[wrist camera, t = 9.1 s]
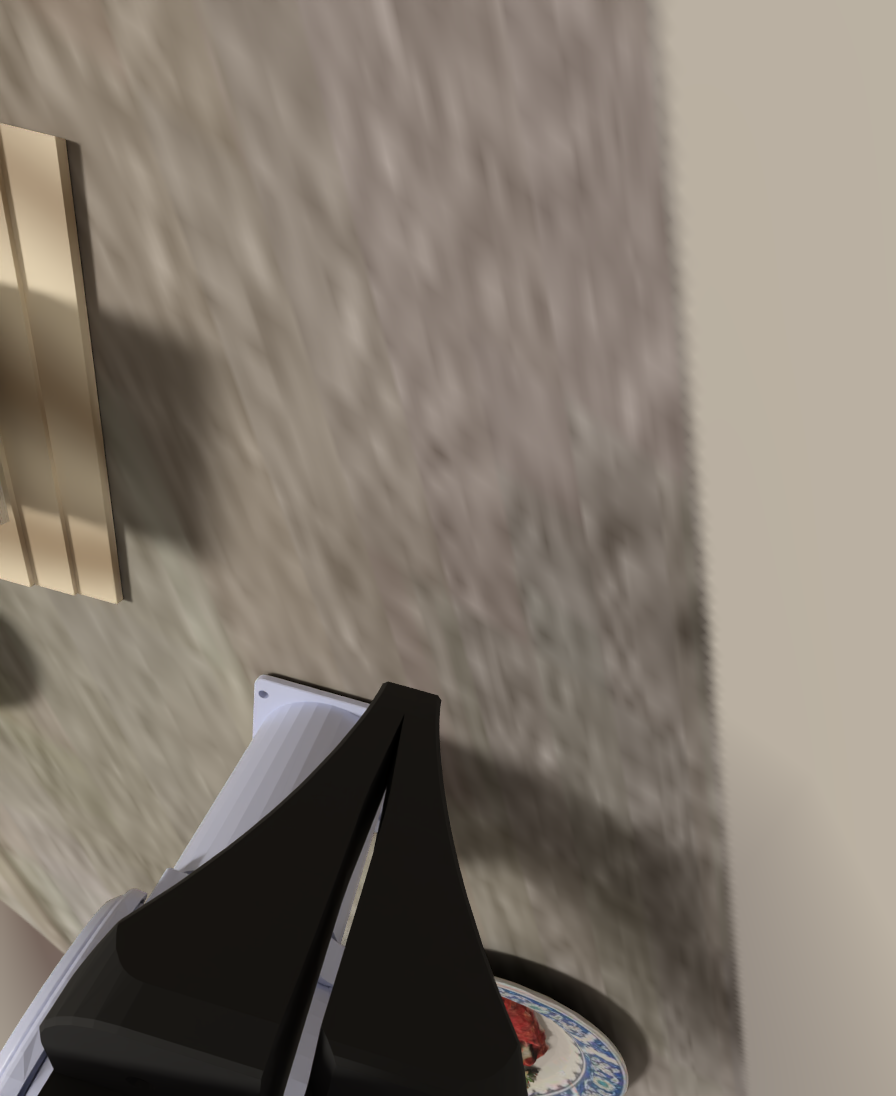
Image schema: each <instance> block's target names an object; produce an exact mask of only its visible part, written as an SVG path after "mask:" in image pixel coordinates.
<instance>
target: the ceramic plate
mask: <svg viewBox="0 0 896 1096" xmlns="http://www.w3.org/2000/svg"><path fill="white" fill-rule="evenodd" d="M494 978H495V981H496V984H497V986H498V989H499V992H500V994H501V997H502V999H503V1002H504V1004H505V1007H506V1010H507V1012H508V1014H509V1017H510V1019H511V1022H512V1024H513V1027H514V1029H515V1031H516V1034H517V1036H518V1039H519V1042H520V1046H521V1052H522V1058H523V1064H524V1070H525V1076H526V1084H527V1091H528V1096H624V1095H625V1093H626V1091H627V1088H628V1072H627V1068H626V1064H625V1062H624V1060H623V1058H622V1055H621V1054H620V1052H619V1051H618V1049H617V1048H616V1046H615V1045H614V1044H613V1043H612V1042H611V1041H610V1039H609V1038H608V1037H607V1036H606V1035H605V1034H604V1033H602V1032H601V1031H600V1030H599V1029H598V1028H597V1027H595V1026H594V1025H593V1024H591V1023H590V1022H589V1021H588V1020H586V1019H585V1018H584V1017H582V1016H581V1015H580V1014H578V1013H576V1012H575V1011H573V1010H571V1009H569V1008H568V1007H566V1006H564V1005H562V1004H560V1003H559V1002H557V1001H555V1000H553V999H552V998H550V997H548V996H546V995H543V994H541V993H539V992H536V991H534V990H531V989H529V988H527V987H524V986H522V985H520V984H517V983H515V982H512V981H508V980H505V979H502V978H499V977H496V976H494Z"/></svg>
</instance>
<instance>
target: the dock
mask: <svg viewBox="0 0 896 1096" xmlns="http://www.w3.org/2000/svg"><path fill="white" fill-rule="evenodd" d="M0 481H1V485H2V490H3V494H4V498H5V502H6V506H7V511H8V515H9V519H10V521H9V522H7V523H4V524H2V525H0V579H4V580H7V581H11V582H14V583H18V584H21V585H25V586H28V587H31V586H33V585H39V586H42V587H46V588H50V589H53V590H57V591H60V592H64V593H67V594H71V595H76V594H77V593H79V594H82V595H86V596H90V597H93V598H97V599H100V600H104V601H107V602H111V603H115V604H118V603H119V602H121V601H122V600H123V595H122V587H121V579H120V571H119V563H118V555H117V547H116V539H115V531H114V523H113V515H112V507H111V499H110V491H109V483H108V475H107V467H106V459H105V451H104V443H103V435H102V427H101V419H100V411H99V403H98V395H97V387H96V379H95V371H94V363H93V356H92V348H91V340H90V332H89V324H88V316H87V308H86V300H85V292H84V284H83V276H82V268H81V260H80V252H79V244H78V236H77V228H76V220H75V212H74V204H73V196H72V188H71V180H70V172H69V164H68V156H67V148H66V140H65V139H63V138H59V137H55V136H51V135H47V134H43V133H39V132H35V131H31V130H27V129H23V128H19V127H14V126H10V125H6V124H2V123H0Z"/></svg>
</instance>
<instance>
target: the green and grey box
mask: <svg viewBox="0 0 896 1096" xmlns="http://www.w3.org/2000/svg"><path fill="white" fill-rule="evenodd" d="M9 521H10V519H9V515H8V511H7V506H6V502H5V498H4V494H3V490H2V485H1V481H0V525H2V524H4V523H7V522H9Z"/></svg>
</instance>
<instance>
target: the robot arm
mask: <svg viewBox="0 0 896 1096" xmlns="http://www.w3.org/2000/svg"><path fill="white" fill-rule="evenodd" d="M440 705H441V699H440V698H439V696H438V695H434V694H431V693H427V692H424V691H420V690H417V689H413V688H409V687H406V686H402V685H399V684H395V683H392V682H386V683H383V684H382V686H381V688H380V690H379V691H378V693H377V695H376V696H375V698H374V699H373V701H372V702H371V704H369V703H365V702H361V701H358V700H354V699H351V698H347V697H344V696H340V695H337V694H333V693H330V692H326V691H322V690H319V689H315V688H312V687H308V686H305V685H301V684H298V683H294V682H291V681H287V680H284V679H280V678H276V677H273V676H269V675H260V676H259V677H258V678H257V680H256V681H255V688H254V716H253V739H252V741H251V743H250V744H249V746H248V748H247V749H246V751H245V752H244V754H243V756H242V757H241V759H240V761H239V762H238V764H237V766H236V767H235V769H234V770H233V772H232V774H231V775H230V777H229V779H228V780H227V782H226V783H225V785H224V787H223V788H222V790H221V792H220V793H219V795H218V796H217V798H216V800H215V801H214V803H213V805H212V806H211V808H210V809H209V811H208V813H207V814H206V816H205V818H204V819H203V821H202V822H201V824H200V826H199V827H198V829H197V831H196V832H195V834H194V835H193V837H192V839H191V840H190V842H189V844H188V845H187V847H186V848H185V850H184V852H183V853H182V855H181V857H180V858H179V860H178V861H177V863H176V865H175V866H174V868H167V869H166V871H165V872H164V874H163V875H162V877H161V879H160V880H159V882H158V883H157V885H156V887H155V888H154V890H153V891H152V893H151V895H150V896H149V898H148V899H147V901H146V903H145V904H144V902H145V900H146V897H147V893H146V892H143V891H141V890H139V889H136V888H133V889H131V890H129V891H127V892H126V893H125V894H124V895H120V896H118V897H116V898H113V899H111V900H109V901H107V902H106V903H105V904H104V905H103V906H102V907H101V908H100V909H99V910H98V911H97V912H96V914H95V915H94V916H93V917H92V918H91V920H90V921H89V922H88V923H87V925H86V926H85V927H84V929H83V930H82V931H81V933H80V934H79V935H78V937H77V938H76V939H75V941H74V942H73V943H72V945H71V946H70V948H69V949H68V950H67V952H66V953H65V955H64V956H63V957H62V959H61V960H60V962H59V963H58V965H57V966H56V967H55V969H54V970H53V972H52V973H51V975H50V976H49V978H48V979H47V981H46V982H45V983H44V985H43V986H42V988H41V989H40V991H39V992H38V994H37V996H36V997H35V999H34V1000H33V1002H32V1003H31V1005H30V1006H29V1008H28V1009H27V1011H26V1012H25V1014H24V1015H23V1017H22V1019H21V1020H20V1022H19V1023H18V1025H17V1026H16V1028H15V1029H14V1031H13V1033H12V1034H11V1036H10V1037H9V1039H8V1041H7V1042H6V1044H5V1046H4V1047H3V1049H2V1051H1V1052H0V1096H528V1091H527V1084H526V1076H525V1070H524V1064H523V1058H522V1052H521V1046H520V1042H519V1039H518V1036H517V1034H516V1031H515V1029H514V1027H513V1024H512V1022H511V1019H510V1017H509V1014H508V1012H507V1010H506V1007H505V1004H504V1002H503V999H502V997H501V994H500V992H499V989H498V986H497V984H496V981H495V978H494V976H493V973H492V970H491V967H490V965H489V962H488V959H487V956H486V953H485V951H484V948H483V945H482V942H481V938H480V935H479V932H478V929H477V926H476V923H475V919H474V916H473V913H472V910H471V907H470V903H469V900H468V897H467V894H466V890H465V886H464V882H463V879H462V875H461V871H460V867H459V863H458V859H457V855H456V851H455V846H454V842H453V837H452V832H451V827H450V822H449V816H448V810H447V805H446V798H445V791H444V784H443V775H442V766H441V756H440V737H439V717H440ZM374 832H377V837H376V842H375V847H374V852H373V856H372V859H371V862H370V866H369V869H368V872H367V876H366V879H365V883H364V886H363V889H362V893H361V896H360V899H359V902H358V906H357V909H356V912H355V916H354V919H353V922H352V926H351V929H350V932H349V936H348V939H347V942H346V946H343V945H341V941H342V937H343V934H344V931H345V927H346V924H347V921H348V917H349V914H350V911H351V907H352V904H353V901H354V897H355V894H356V891H357V887H358V884H359V881H360V877H361V874H362V871H363V867H364V864H365V861H366V857H367V854H368V851H369V847H370V844H371V841H372V837H373V834H374Z"/></svg>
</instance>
